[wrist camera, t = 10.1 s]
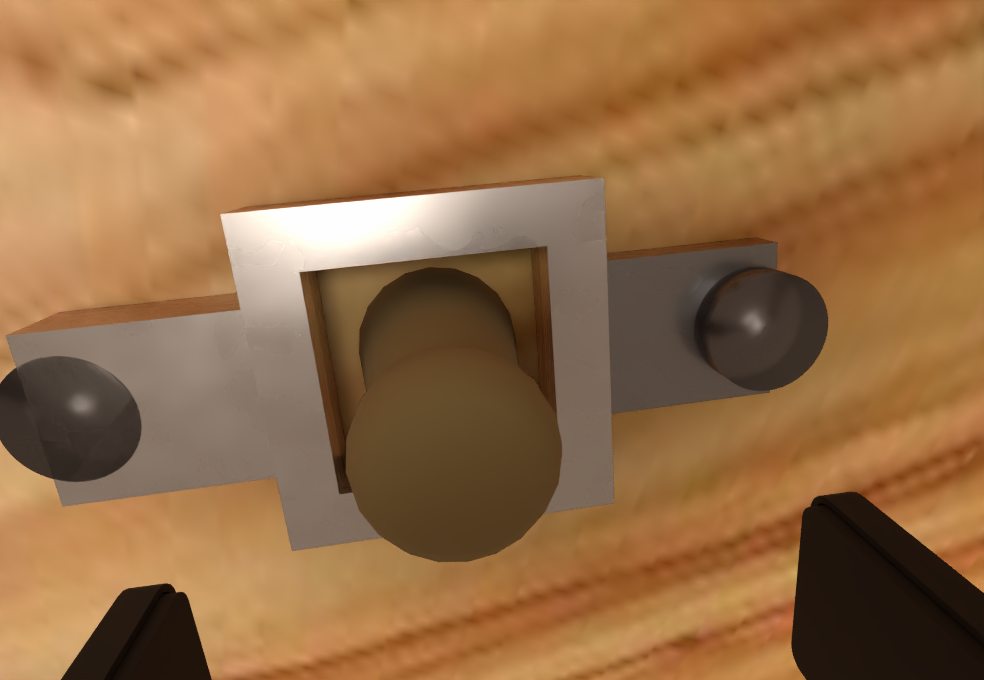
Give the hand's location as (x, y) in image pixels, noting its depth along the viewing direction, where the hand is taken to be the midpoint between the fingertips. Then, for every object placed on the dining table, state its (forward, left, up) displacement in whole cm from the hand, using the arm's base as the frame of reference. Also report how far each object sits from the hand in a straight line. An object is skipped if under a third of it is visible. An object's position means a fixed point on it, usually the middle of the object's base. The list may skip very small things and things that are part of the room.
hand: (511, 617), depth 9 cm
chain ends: (+1, 0, -15) cm, 15 cm away
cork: (0, 0, -15) cm, 15 cm away
